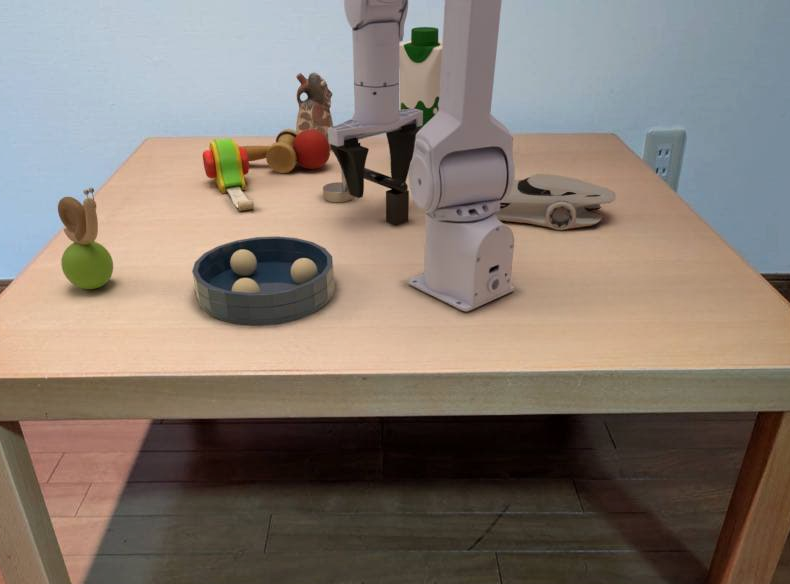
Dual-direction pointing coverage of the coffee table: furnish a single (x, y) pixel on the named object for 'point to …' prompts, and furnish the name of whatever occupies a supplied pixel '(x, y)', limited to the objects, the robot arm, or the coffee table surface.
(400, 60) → the milk carton
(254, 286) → the dumpling
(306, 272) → the dumpling
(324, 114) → the figurine
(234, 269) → the dumpling
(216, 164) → the toy measuring tape
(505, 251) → the robot arm
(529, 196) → the car model
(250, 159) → the kendama
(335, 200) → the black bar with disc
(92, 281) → the snail figurine
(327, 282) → the bowl
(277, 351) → the coffee table surface
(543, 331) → the coffee table surface
